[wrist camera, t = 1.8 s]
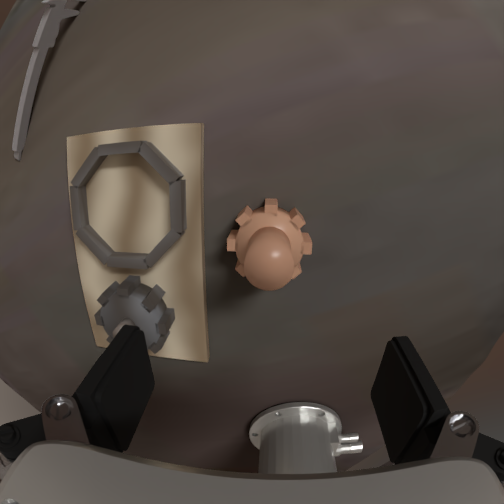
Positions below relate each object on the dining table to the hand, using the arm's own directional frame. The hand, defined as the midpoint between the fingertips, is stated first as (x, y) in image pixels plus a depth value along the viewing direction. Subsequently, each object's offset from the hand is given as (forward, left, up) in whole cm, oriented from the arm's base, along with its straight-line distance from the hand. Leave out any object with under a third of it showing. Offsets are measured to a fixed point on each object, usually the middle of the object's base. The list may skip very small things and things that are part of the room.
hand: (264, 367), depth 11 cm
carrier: (+13, +2, -18) cm, 22 cm away
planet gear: (0, 0, -18) cm, 18 cm away
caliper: (+25, -18, -18) cm, 36 cm away
